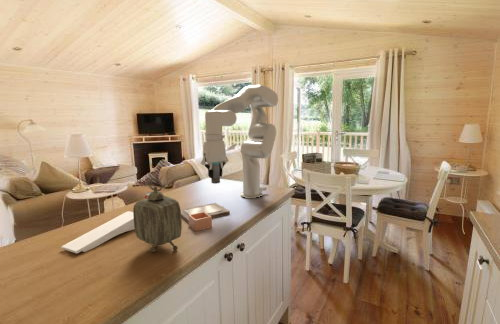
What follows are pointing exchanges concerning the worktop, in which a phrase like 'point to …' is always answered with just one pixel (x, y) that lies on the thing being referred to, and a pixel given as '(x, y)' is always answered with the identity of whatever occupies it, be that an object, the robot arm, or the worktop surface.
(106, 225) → the white wedge
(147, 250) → the worktop surface
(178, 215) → the tabletop clock
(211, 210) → the writing board
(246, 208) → the worktop surface
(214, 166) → the marker
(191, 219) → the orange square open box
